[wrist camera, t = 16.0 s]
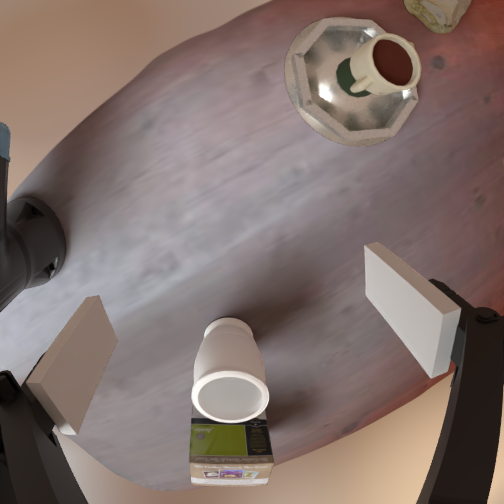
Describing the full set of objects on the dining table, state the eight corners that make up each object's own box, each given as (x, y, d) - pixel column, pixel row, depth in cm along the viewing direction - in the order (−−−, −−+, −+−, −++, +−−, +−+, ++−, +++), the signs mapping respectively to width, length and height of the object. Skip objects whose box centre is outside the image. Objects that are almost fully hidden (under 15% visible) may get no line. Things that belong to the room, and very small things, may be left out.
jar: (186, 325, 51) (175, 386, 37) (242, 301, 50) (248, 360, 36) (216, 368, 55) (215, 431, 41) (268, 348, 54) (281, 410, 40)
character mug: (345, 117, 41) (387, 112, 29) (312, 81, 39) (344, 60, 27) (391, 77, 39) (440, 63, 27) (361, 42, 37) (403, 16, 25)
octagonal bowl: (298, 154, 43) (302, 155, 40) (272, 19, 36) (274, 12, 33) (420, 141, 43) (430, 142, 41) (397, 21, 36) (406, 16, 33)
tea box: (193, 432, 61) (189, 486, 47) (192, 403, 58) (187, 462, 44) (260, 434, 63) (267, 487, 49) (266, 406, 59) (275, 463, 45)
